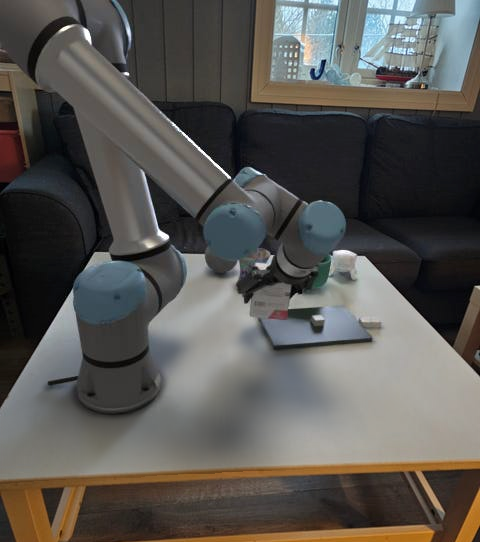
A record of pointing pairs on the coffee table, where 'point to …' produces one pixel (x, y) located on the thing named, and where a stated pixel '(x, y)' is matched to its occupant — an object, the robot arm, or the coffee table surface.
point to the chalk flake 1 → (318, 320)
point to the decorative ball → (218, 262)
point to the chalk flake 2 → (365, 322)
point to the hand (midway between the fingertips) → (265, 296)
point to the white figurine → (343, 262)
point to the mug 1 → (252, 261)
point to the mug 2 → (322, 272)
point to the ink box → (270, 300)
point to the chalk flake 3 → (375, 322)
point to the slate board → (314, 328)
